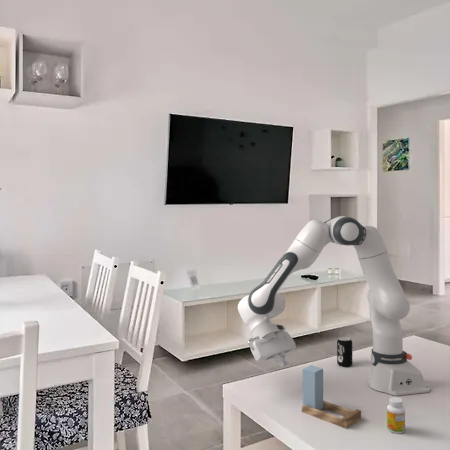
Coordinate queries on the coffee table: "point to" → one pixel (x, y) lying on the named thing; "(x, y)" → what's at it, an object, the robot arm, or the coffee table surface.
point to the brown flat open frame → (345, 422)
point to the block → (313, 387)
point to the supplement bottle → (395, 415)
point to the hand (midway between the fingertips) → (285, 365)
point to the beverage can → (344, 351)
